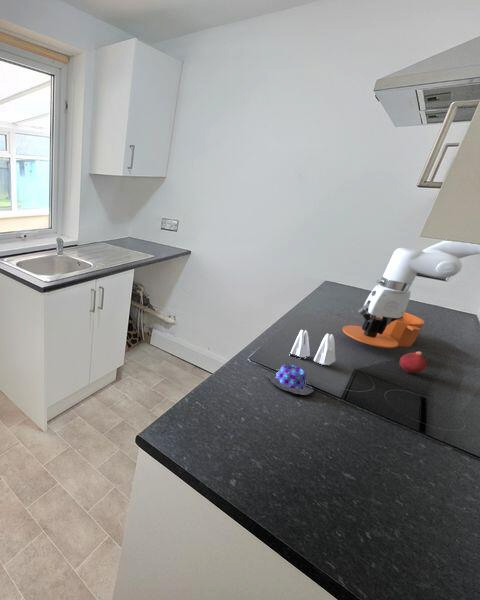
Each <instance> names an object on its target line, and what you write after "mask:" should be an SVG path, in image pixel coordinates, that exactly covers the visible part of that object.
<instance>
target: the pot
mask: <svg viewBox="0 0 480 600" xmlns="http://www.w3.org/2000/svg"><path fill="white" fill-rule="evenodd" d="M370 317H371V316H370ZM376 317H380V316H376ZM380 318H382V317H380ZM425 323H426V322H425V320H424V319H422V318H421V317H418V316H417V315H415V314H411V313H409V312H406V311H405V312H404V314H403V318H401V319H398V320H395V321H393V322H391V323H390V324H389V325H387V326H386V328H385V330H384V332H383V333H384V334H387V335H389V336H390V337H392V338H394V339H395V340H396V341H397V342H398V346H397V347H406V348H407V347H412V346H413V344H414V343H415V341H416V340H417V337H418V336H419V334H420V332H421V331H422V330H423V329H422V328H423V327H424V325H425Z"/></svg>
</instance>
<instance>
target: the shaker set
mask: <svg viewBox="0 0 480 600" xmlns="http://www.w3.org/2000/svg"><path fill="white" fill-rule="evenodd" d="M335 345H336V343H335V336H334V334H332V333H331V334H329V333H326V334H325V335H324V337H323V338H322V341H321V342H320V345H319V347H318V349H317V352H316V354H315V355H314V358H313V361H314V363H316V364H318V363H319V364H321V365H320V366H322V365H328V366H330V365H332V364H334V363H335V362H336V361H337V360H336V349H335V347H336V346H335ZM290 353H291V354H295V355H297V356H299V357H305V358H304V359H307V357H309V356H310V357H311V351H310V341H309V333H308V331H307V329H305V330H304V329H300V331H299V333H298V334H297V336H296V339H295V341H294V344H293V346H292V348H291V351H290ZM306 356H307V357H306ZM319 364H318V365H319Z"/></svg>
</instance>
